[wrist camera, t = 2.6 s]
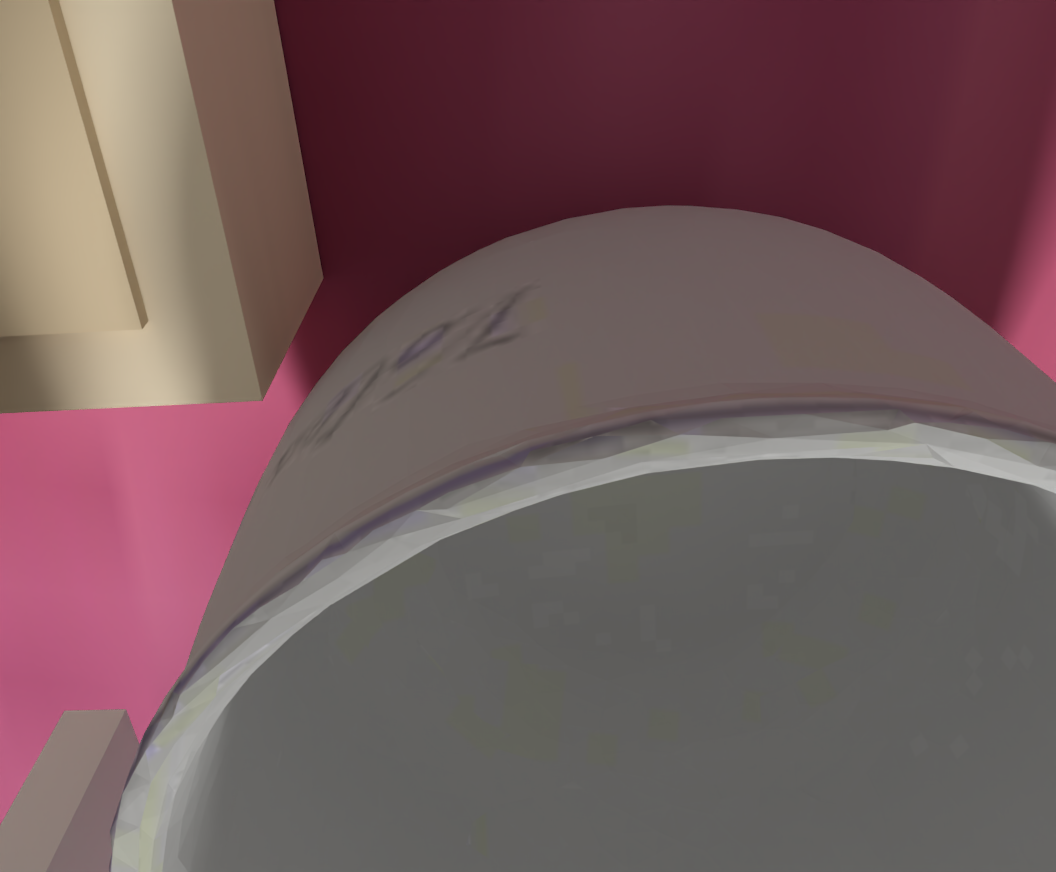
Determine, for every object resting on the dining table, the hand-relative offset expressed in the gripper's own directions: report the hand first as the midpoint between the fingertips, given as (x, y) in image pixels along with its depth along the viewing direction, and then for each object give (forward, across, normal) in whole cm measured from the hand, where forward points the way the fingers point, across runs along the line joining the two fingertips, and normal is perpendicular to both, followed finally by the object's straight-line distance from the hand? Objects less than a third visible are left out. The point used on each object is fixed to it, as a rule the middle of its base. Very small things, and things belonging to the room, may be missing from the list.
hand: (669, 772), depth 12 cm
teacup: (+5, 0, 0) cm, 5 cm away
